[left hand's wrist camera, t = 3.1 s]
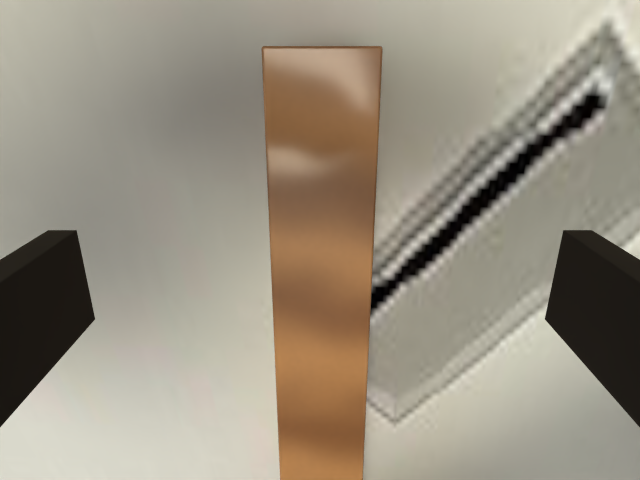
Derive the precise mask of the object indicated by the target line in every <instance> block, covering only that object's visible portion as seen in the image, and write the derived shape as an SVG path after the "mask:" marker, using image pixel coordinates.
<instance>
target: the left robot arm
mask: <svg viewBox="0 0 640 480" xmlns="http://www.w3.org/2000/svg"><path fill="white" fill-rule="evenodd" d="M94 320H95V316H94V312H93V307H92V302H91V297H90V292H89V288H88V283H87V278H86V273H85V268H84V264H83V259H82V254H81V249H80V244H79V240H78V235H77V230H48V231H46V232H45V233H43V234H41V235H40V236H38V237H37V238H35V239H33V240H32V241H30V242H29V243H27V244H25V245H24V246H22V247H20V248H19V249H17V250H16V251H14V252H12V253H11V254H9V255H7V256H6V257H4V258H3V259H1V260H0V427H1V426H2V425H3V423H4V422H5V421H6V420H7V419H8V418H9V417H10V415H11V414H12V413H13V412H14V411H15V410H16V409H17V408H18V406H19V405H20V404H21V403H22V402H23V401H24V400H25V398H26V397H27V396H28V395H29V394H30V393H31V392H32V390H33V389H34V388H35V387H36V386H37V385H38V384H39V382H40V381H41V380H42V379H43V378H44V377H45V376H46V374H47V373H48V372H49V371H50V370H51V369H52V368H53V366H54V365H55V364H56V363H57V362H58V361H59V360H60V359H61V357H62V356H63V355H64V354H65V353H66V352H67V351H68V349H69V348H70V347H71V346H72V345H73V344H74V343H75V341H76V340H77V339H78V338H79V337H80V336H81V335H82V333H83V332H84V331H85V330H86V329H87V328H88V327H89V325H90V324H91V323H92V322H93V321H94ZM545 320H546V321H547V322H548V323H549V324H550V325H551V327H552V328H553V329H554V330H555V331H556V332H557V333H558V335H559V336H560V337H561V338H562V339H563V340H564V341H565V343H566V344H567V345H568V346H569V347H570V348H571V349H572V351H573V352H574V353H575V354H576V355H577V356H578V357H579V359H580V360H581V361H582V362H583V363H584V364H585V365H586V366H587V368H588V369H589V370H590V371H591V372H592V373H593V374H594V376H595V377H596V378H597V379H598V380H599V381H600V382H601V384H602V385H603V386H604V387H605V388H606V389H607V390H608V392H609V393H610V394H611V395H612V396H613V397H614V398H615V400H616V401H617V402H618V403H619V404H620V405H621V406H622V408H623V409H624V410H625V411H626V412H627V413H628V414H629V415H630V417H631V418H632V419H633V420H634V421H635V422H636V423H637V425H638V426H639V427H640V260H639V259H637V258H636V257H634V256H633V255H631V254H629V253H628V252H626V251H624V250H623V249H621V248H620V247H618V246H616V245H615V244H613V243H611V242H610V241H608V240H607V239H605V238H603V237H602V236H600V235H599V234H597V233H595V232H594V231H592V230H563V235H562V240H561V244H560V249H559V254H558V259H557V264H556V268H555V273H554V278H553V283H552V288H551V292H550V297H549V302H548V307H547V312H546V316H545Z"/></svg>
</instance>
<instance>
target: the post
mask: <svg viewBox="0 0 640 480" xmlns="http://www.w3.org/2000/svg"><path fill="white" fill-rule="evenodd" d="M262 68H263V91H264V114H265V137H266V161H267V184H268V207H269V230H270V253H271V276H272V299H273V322H274V346H275V369H276V392H277V415H278V438H279V461H280V480H363V459H364V437H365V416H366V394H367V373H368V351H369V329H370V308H371V286H372V265H373V243H374V222H375V200H376V179H377V157H378V135H379V114H380V92H381V71H382V47H381V46H263V47H262Z"/></svg>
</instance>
